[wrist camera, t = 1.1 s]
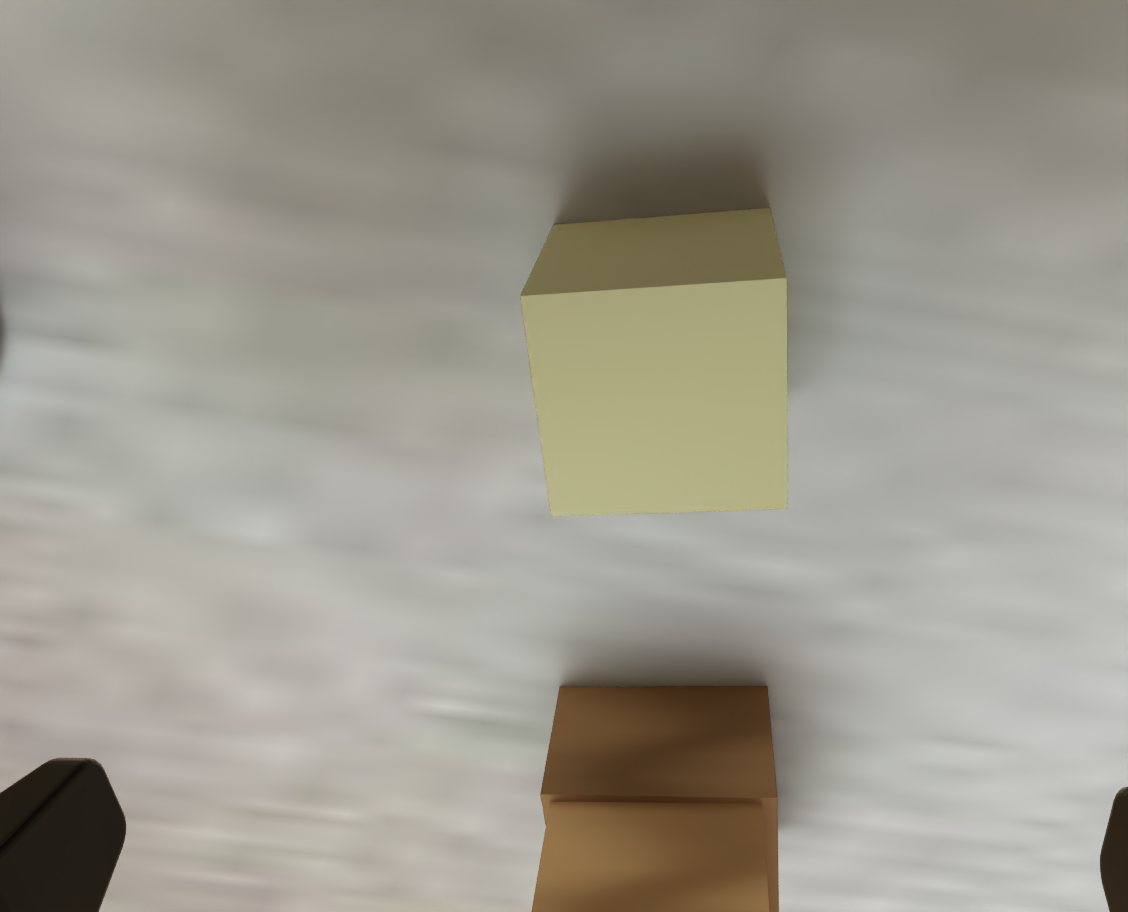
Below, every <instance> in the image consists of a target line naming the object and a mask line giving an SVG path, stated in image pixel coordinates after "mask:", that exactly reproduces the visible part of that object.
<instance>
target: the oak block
mask: <svg viewBox="0 0 1128 912" xmlns="http://www.w3.org/2000/svg"><path fill="white" fill-rule="evenodd" d="M532 912H770V911H769V896H768V882H767V867H766V853H765V839H764V824H763V810H762V804H747V803H643V802H550V806H549V812H548V817H547V823H546V829H545V835H544V841H543V847H542V853H541V859H540V865H539V871H538V877H537V883H536V889H535V894H534V900H533V906H532Z"/></svg>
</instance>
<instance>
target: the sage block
mask: <svg viewBox="0 0 1128 912" xmlns="http://www.w3.org/2000/svg"><path fill="white" fill-rule="evenodd" d="M520 299H521V306H522V313H523V320H524V327H525V334H526V341H527V349H528V356H529V363H530V370H531V377H532V384H533V391H534V398H535V406H536V413H537V420H538V427H539V434H540V441H541V448H542V455H543V462H544V470H545V477H546V484H547V491H548V498H549V505H550V512H551V516H574V515H607V514H640V513H673V512H706V511H738V510H771V509H788V460H787V277H786V273H785V269H784V264H783V260H782V256H781V252H780V247H779V243H778V239H777V235H776V230H775V226H774V222H773V218H772V213H771V209H770V208H759V209H747V210H734V211H722V212H709V213H696V214H684V215H671V216H659V217H646V218H633V219H621V220H608V221H595V222H583V223H570V224H558V225H553V227H552V229H551V231H550V233H549V236H548V238H547V240H546V242H545V244H544V246H543V248H542V250H541V253H540V255H539V257H538V259H537V261H536V263H535V265H534V268H533V270H532V272H531V274H530V276H529V278H528V280H527V283H526V285H525V287H524V289H523V291H522V293H521V295H520Z"/></svg>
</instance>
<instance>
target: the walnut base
mask: <svg viewBox="0 0 1128 912" xmlns="http://www.w3.org/2000/svg"><path fill="white" fill-rule="evenodd" d="M540 795H541V801H542V806H543V812H544V818H545V824H546V823H547V817H548V812H549V806H550V802H643V803H747V804H762V810H763V824H764V839H765V853H766V867H767V882H768V896H769V911H770V912H779V893H778V815H777V789H776V778H775V766H774V755H773V744H772V733H771V721H770V710H769V699H768V688H767V686H653V687H560V688H559V694H558V699H557V705H556V710H555V716H554V722H553V727H552V733H551V738H550V744H549V749H548V755H547V761H546V766H545V772H544V777H543V783H542V788H541V794H540Z"/></svg>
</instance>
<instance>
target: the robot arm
mask: <svg viewBox="0 0 1128 912" xmlns="http://www.w3.org/2000/svg"><path fill="white" fill-rule="evenodd" d="M125 835H126V821H125V816H124V813H123V811H122V808H121V806H120V804H119V802H118V799H117V797H116V795H115V793H114V790H113V788H112V786H111V784H110V782H109V779H108V777H107V775H106V773H105V770H104V768H103V767H102V765H101V764H100V763H98V762H97V761H96V760H94V759H90V758H56V759H52V760H50V761H48V762H46V763H44V764H43V765H41V766H40V767H38V768H37V769H35V770H34V771H32V772H31V773H29V774H28V775H26V776H25V777H23V778H22V779H20V780H19V781H17V782H16V783H14V784H13V785H12V786H10V787H9V788H7V789H6V790H4V791H3V792H1V793H0V912H99V909H100V907H101V904H102V901H103V899H104V896H105V893H106V891H107V888H108V885H109V882H110V880H111V877H112V874H113V872H114V869H115V866H116V864H117V861H118V858H119V855H120V853H121V850H122V847H123V844H124V840H125ZM1100 872H1101V879H1102V884H1103V888H1104V892H1105V896H1106V900H1107V903H1108V907H1109V911H1110V912H1128V787H1125V788H1122V789H1121V790H1119V792H1118V793H1117V794H1116V796H1115V799H1114V802H1113V806H1112V810H1111V814H1110V818H1109V822H1108V826H1107V830H1106V834H1105V838H1104V842H1103V845H1102V849H1101V855H1100Z"/></svg>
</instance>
